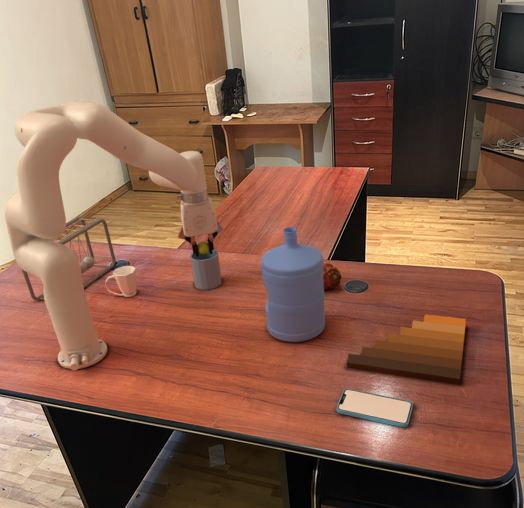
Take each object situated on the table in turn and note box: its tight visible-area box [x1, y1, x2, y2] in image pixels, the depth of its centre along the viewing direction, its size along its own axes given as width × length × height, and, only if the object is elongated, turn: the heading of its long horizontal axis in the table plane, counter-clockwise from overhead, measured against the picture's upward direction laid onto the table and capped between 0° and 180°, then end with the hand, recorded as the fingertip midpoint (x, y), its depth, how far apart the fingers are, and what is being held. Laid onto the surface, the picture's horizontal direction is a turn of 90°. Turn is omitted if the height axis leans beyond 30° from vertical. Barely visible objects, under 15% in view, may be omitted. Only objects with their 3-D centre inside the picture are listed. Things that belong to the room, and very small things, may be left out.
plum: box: [197, 241, 209, 255], centre depth 166 cm, size 4×4×4 cm
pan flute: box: [346, 314, 467, 385], centre depth 133 cm, size 25×3×25 cm
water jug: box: [260, 226, 326, 343], centre depth 139 cm, size 16×16×28 cm
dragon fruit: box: [323, 262, 342, 290], centre depth 162 cm, size 8×8×12 cm
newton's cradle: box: [21, 216, 116, 301], centre depth 175 cm, size 30×10×18 cm, turn 156°
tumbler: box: [189, 249, 223, 291], centre depth 169 cm, size 9×9×10 cm
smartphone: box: [336, 388, 414, 428], centre depth 116 cm, size 8×1×15 cm
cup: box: [105, 265, 138, 298], centre depth 168 cm, size 7×10×8 cm
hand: (203, 253), depth 167 cm, fingers closed on plum, 3 cm apart
